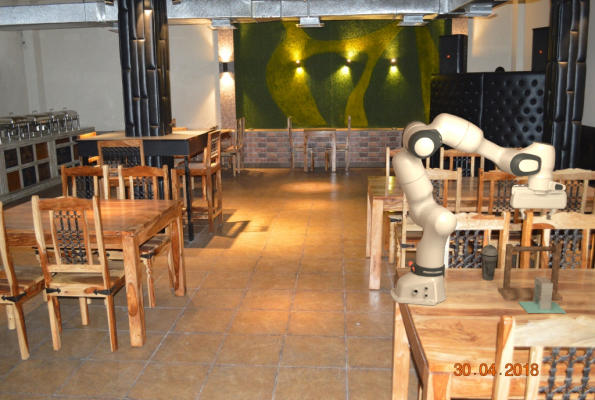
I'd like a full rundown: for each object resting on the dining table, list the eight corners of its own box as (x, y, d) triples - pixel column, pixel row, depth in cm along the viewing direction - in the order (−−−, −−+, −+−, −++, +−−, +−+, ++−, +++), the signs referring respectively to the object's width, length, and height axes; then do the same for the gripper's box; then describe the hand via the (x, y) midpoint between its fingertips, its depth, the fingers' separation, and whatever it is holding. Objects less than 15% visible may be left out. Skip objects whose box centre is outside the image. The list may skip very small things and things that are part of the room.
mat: (528, 313, 202) (528, 312, 202) (518, 303, 212) (518, 301, 211) (566, 314, 201) (566, 312, 201) (554, 303, 211) (554, 301, 211)
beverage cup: (497, 282, 233) (500, 238, 229) (480, 281, 235) (483, 237, 230) (495, 276, 240) (498, 233, 236) (478, 275, 242) (480, 232, 237)
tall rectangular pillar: (539, 310, 203) (542, 283, 201) (532, 303, 210) (535, 276, 207) (550, 310, 203) (553, 283, 200) (543, 303, 210) (545, 276, 207)
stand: (506, 300, 214) (510, 248, 209) (498, 290, 224) (501, 241, 219) (562, 300, 213) (567, 248, 208) (551, 290, 223) (556, 240, 218)
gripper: (514, 185, 202) (511, 220, 205) (570, 186, 201) (566, 221, 204) (509, 182, 208) (506, 216, 211) (563, 182, 207) (559, 217, 210)
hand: (536, 219), depth 208 cm, fingers open, 8 cm apart
